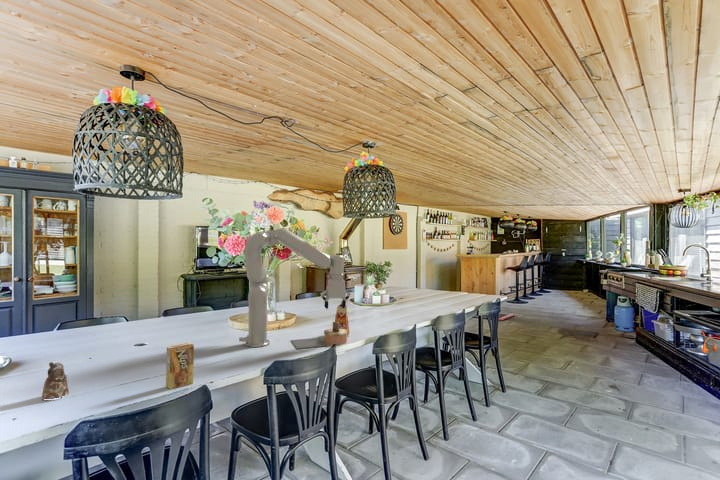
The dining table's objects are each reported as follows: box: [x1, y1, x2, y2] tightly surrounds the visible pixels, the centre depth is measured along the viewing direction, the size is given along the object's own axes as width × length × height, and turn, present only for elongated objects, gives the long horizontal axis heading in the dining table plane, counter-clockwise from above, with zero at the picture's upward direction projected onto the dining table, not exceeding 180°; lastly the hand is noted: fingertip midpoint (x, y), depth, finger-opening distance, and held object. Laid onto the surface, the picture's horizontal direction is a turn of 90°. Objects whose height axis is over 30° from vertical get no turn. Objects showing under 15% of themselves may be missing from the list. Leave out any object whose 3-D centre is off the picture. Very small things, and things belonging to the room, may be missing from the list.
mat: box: [290, 337, 328, 350], centre depth 202 cm, size 16×16×1 cm
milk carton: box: [334, 301, 350, 338], centre depth 223 cm, size 9×9×20 cm
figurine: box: [41, 361, 69, 400], centre depth 132 cm, size 7×7×12 cm
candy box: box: [165, 342, 195, 390], centre depth 144 cm, size 9×4×15 cm, turn 137°
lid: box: [323, 321, 348, 336], centre depth 207 cm, size 13×13×6 cm
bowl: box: [323, 334, 348, 346], centre depth 207 cm, size 12×12×5 cm
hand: (335, 308), depth 207 cm, fingers open, 9 cm apart
